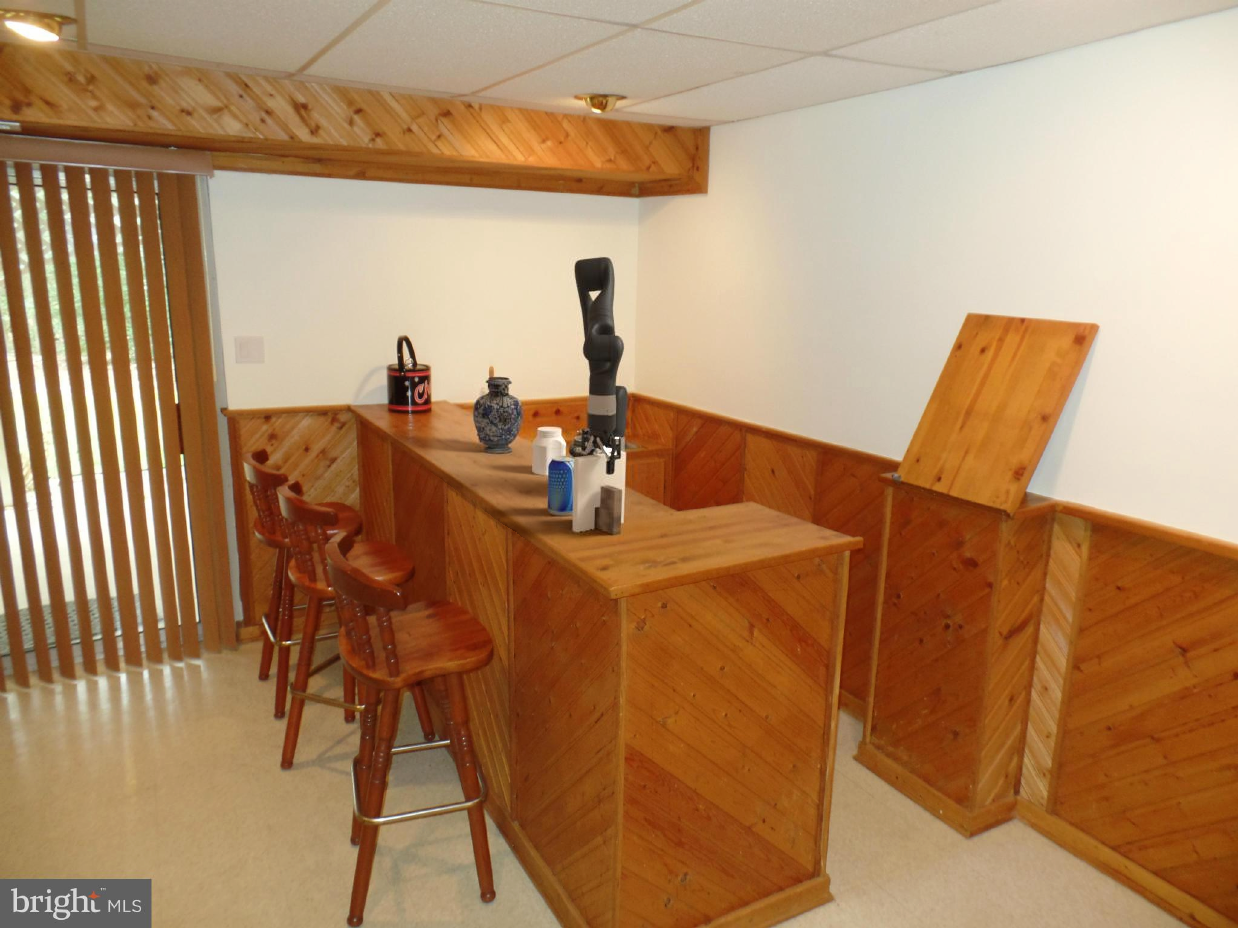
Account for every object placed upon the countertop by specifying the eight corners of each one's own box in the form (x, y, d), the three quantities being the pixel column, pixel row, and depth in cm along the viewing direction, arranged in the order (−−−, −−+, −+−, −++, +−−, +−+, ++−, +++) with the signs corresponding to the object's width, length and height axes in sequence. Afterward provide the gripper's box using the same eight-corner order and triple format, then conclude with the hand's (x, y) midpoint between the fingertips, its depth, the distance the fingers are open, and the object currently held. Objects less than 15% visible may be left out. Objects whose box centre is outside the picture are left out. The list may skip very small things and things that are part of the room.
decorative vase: (466, 446, 328) (466, 374, 322) (512, 444, 336) (513, 374, 330) (481, 458, 309) (482, 381, 303) (529, 455, 317) (531, 381, 311)
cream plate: (576, 532, 225) (578, 458, 221) (572, 530, 226) (574, 457, 222) (623, 523, 235) (626, 452, 230) (619, 521, 236) (621, 451, 232)
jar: (557, 467, 299) (558, 425, 296) (570, 473, 291) (570, 430, 288) (527, 470, 293) (528, 427, 290) (539, 476, 285) (539, 432, 282)
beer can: (582, 511, 245) (583, 457, 241) (566, 518, 238) (567, 462, 234) (558, 506, 249) (559, 453, 245) (541, 513, 242) (542, 458, 238)
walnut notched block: (577, 520, 236) (578, 478, 233) (584, 519, 237) (585, 477, 235) (613, 534, 224) (614, 491, 221) (620, 533, 225) (622, 489, 223)
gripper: (574, 408, 227) (573, 467, 230) (607, 416, 216) (605, 478, 219) (596, 406, 231) (595, 464, 235) (629, 414, 221) (627, 474, 224)
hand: (600, 471), depth 227 cm, fingers open, 8 cm apart
